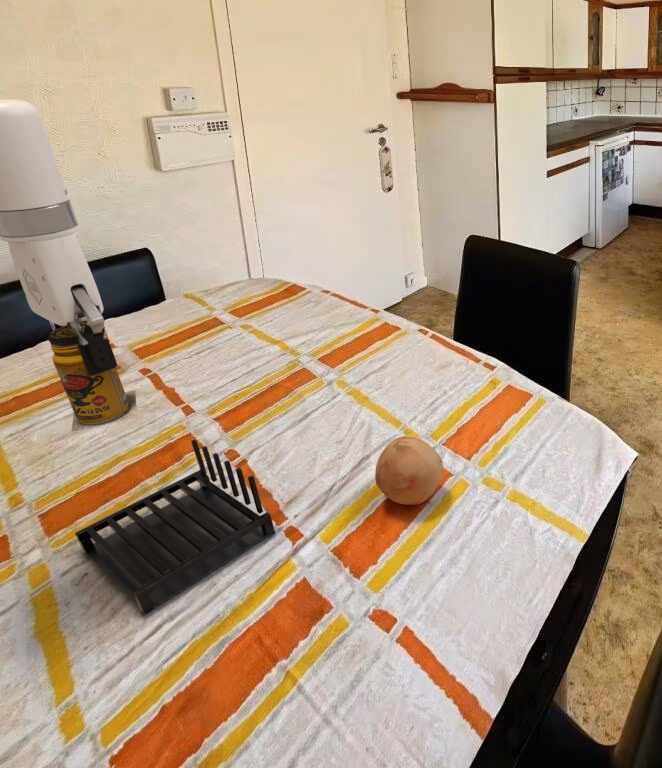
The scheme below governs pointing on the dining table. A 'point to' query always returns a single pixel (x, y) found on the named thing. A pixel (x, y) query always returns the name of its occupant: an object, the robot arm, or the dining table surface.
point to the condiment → (89, 385)
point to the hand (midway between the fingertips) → (90, 362)
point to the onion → (408, 471)
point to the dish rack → (178, 535)
